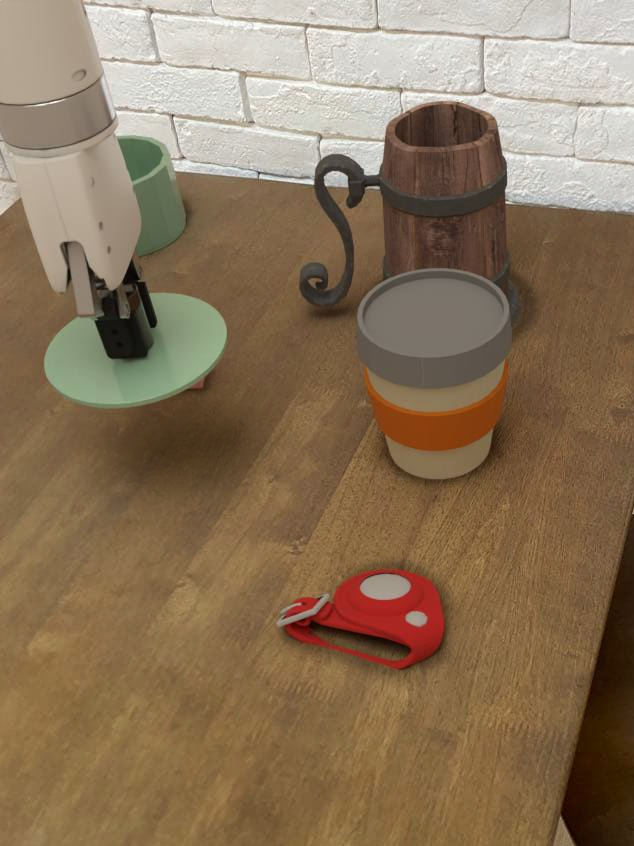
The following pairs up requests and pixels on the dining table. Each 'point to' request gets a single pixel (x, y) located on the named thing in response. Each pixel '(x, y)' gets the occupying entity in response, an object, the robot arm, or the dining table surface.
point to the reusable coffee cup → (435, 367)
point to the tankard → (428, 200)
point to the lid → (138, 377)
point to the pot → (153, 192)
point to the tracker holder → (375, 613)
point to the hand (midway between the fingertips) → (133, 339)
